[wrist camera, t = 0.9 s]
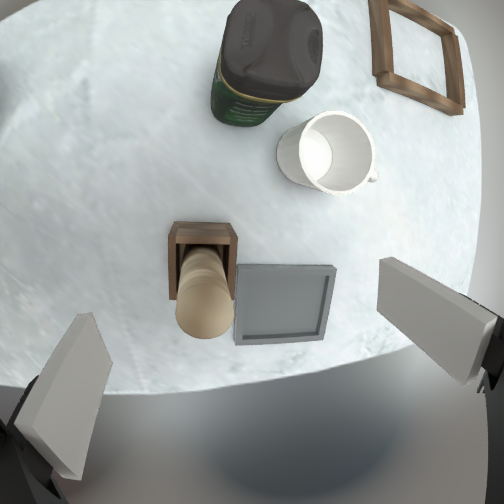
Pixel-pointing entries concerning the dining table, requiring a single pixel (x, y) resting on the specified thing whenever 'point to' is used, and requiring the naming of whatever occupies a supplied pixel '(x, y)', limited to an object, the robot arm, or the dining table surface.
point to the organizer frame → (383, 56)
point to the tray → (282, 303)
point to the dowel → (203, 293)
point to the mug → (328, 153)
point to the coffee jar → (265, 59)
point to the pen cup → (201, 235)
